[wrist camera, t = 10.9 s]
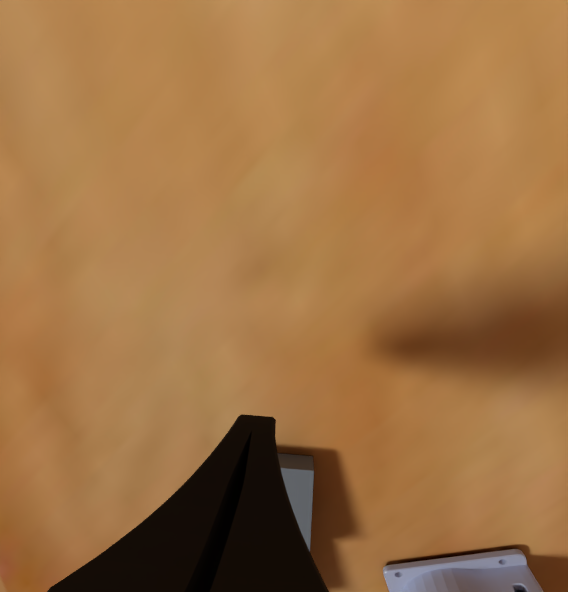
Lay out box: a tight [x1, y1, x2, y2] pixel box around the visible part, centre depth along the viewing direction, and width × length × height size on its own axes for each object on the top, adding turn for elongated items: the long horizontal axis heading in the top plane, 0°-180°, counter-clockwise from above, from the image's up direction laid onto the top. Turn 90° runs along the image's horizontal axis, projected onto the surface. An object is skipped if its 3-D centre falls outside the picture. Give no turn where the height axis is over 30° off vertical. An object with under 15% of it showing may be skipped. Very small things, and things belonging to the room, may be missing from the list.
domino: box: [277, 453, 314, 551], centre depth 19 cm, size 2×5×8 cm
